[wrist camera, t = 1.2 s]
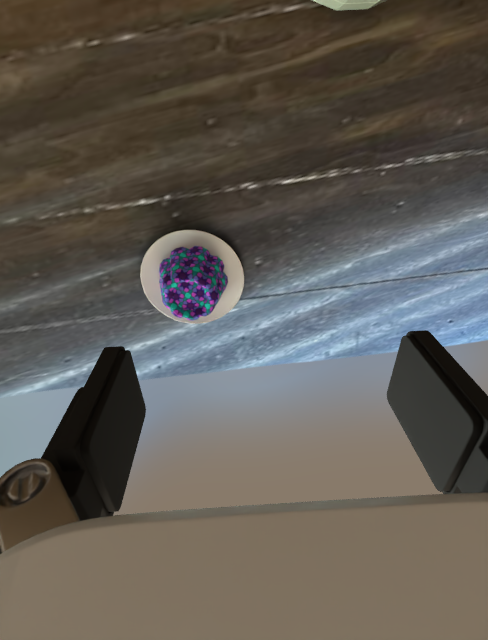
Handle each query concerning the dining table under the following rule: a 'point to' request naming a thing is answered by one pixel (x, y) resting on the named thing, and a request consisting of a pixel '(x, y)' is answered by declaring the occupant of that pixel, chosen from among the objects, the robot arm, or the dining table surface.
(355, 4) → the bowl
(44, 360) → the dining table surface
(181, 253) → the pudding
